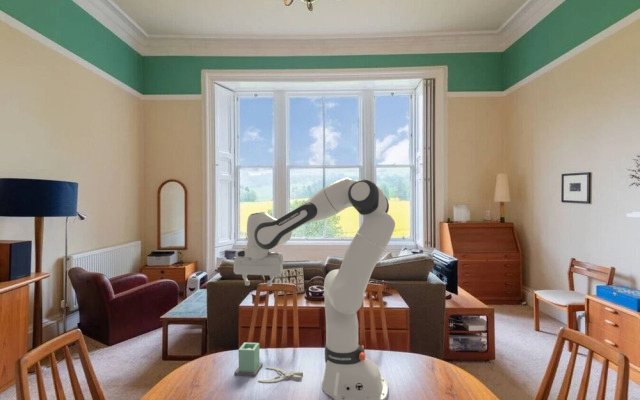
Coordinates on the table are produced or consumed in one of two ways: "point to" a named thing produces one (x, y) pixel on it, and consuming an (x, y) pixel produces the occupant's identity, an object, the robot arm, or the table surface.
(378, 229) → the robot arm
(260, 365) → the post stand
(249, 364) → the sleeve
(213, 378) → the table surface
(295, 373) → the pliers
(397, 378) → the table surface
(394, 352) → the table surface
